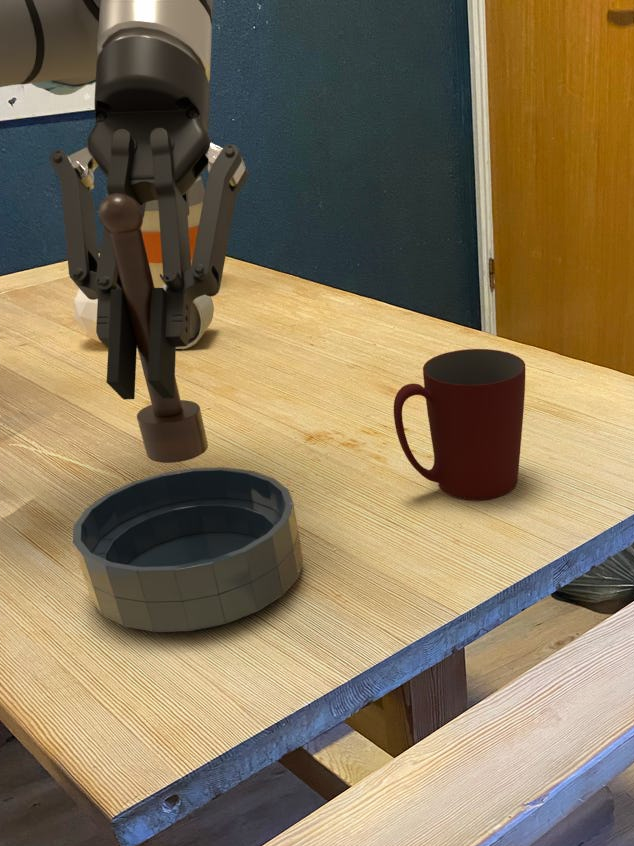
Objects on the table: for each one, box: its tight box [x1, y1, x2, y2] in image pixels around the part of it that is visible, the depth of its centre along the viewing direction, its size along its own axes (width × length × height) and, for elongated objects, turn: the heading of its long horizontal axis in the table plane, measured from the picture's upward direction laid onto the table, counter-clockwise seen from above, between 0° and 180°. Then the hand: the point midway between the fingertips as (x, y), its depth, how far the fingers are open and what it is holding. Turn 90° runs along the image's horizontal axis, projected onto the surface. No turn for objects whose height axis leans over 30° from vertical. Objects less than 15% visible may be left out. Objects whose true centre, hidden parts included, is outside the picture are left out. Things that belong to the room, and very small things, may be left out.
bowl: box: [72, 466, 304, 633], centre depth 73 cm, size 16×16×6 cm
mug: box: [393, 348, 526, 501], centre depth 83 cm, size 12×9×11 cm
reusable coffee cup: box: [141, 175, 206, 288], centre depth 138 cm, size 12×13×15 cm
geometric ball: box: [73, 288, 103, 344], centre depth 121 cm, size 8×8×8 cm
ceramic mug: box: [160, 284, 215, 350], centre depth 121 cm, size 11×8×8 cm
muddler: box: [98, 193, 209, 464], centre depth 63 cm, size 4×4×17 cm
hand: (141, 389), depth 62 cm, fingers closed on muddler, 2 cm apart
